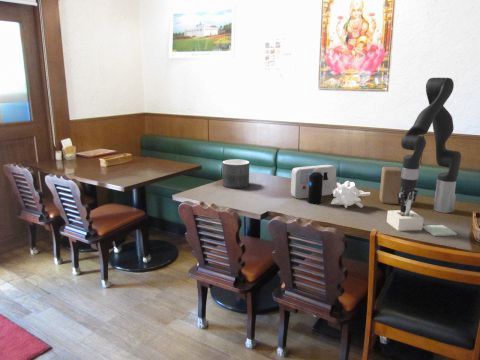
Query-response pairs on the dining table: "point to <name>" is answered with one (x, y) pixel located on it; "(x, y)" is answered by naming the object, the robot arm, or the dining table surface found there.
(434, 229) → the mat
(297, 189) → the rounded white slab
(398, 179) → the wooden block
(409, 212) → the key peg
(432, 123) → the robot arm
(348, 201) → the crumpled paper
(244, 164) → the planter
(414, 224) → the socket
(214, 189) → the dining table surface
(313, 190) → the black tall cylinder
